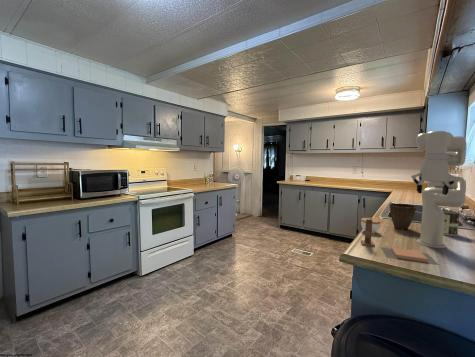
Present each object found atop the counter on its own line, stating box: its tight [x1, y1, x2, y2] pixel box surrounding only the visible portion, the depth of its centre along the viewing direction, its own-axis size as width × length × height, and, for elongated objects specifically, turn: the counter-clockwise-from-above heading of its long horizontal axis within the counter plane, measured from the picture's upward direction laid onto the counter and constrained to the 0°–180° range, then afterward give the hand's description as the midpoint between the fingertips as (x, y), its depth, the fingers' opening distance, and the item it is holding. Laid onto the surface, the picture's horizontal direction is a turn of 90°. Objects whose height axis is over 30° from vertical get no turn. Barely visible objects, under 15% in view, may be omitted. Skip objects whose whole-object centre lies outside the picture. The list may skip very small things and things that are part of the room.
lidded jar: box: [360, 216, 381, 234], centre depth 151 cm, size 11×11×9 cm
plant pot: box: [389, 203, 417, 230], centre depth 160 cm, size 15×15×16 cm
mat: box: [380, 246, 440, 266], centre depth 113 cm, size 14×20×1 cm
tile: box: [390, 246, 428, 263], centre depth 112 cm, size 2×12×10 cm
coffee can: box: [441, 209, 461, 237], centre depth 151 cm, size 10×10×14 cm
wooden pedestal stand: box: [360, 219, 376, 248], centre depth 127 cm, size 6×6×14 cm
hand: (431, 193), depth 112 cm, fingers open, 9 cm apart
